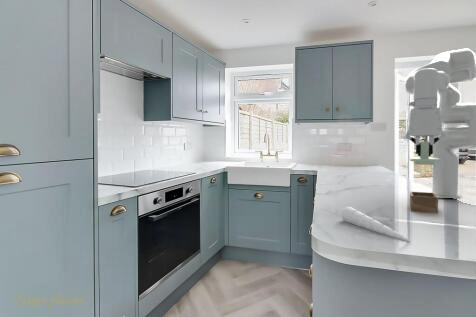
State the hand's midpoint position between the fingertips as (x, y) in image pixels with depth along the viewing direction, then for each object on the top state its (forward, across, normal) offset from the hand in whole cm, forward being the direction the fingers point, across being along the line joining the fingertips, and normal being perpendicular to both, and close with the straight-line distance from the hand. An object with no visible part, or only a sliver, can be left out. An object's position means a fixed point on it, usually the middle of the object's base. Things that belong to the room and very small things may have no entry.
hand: (424, 155), depth 111 cm
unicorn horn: (+20, -15, -34) cm, 43 cm away
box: (+20, 0, 0) cm, 20 cm away
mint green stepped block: (+3, 0, 0) cm, 3 cm away
